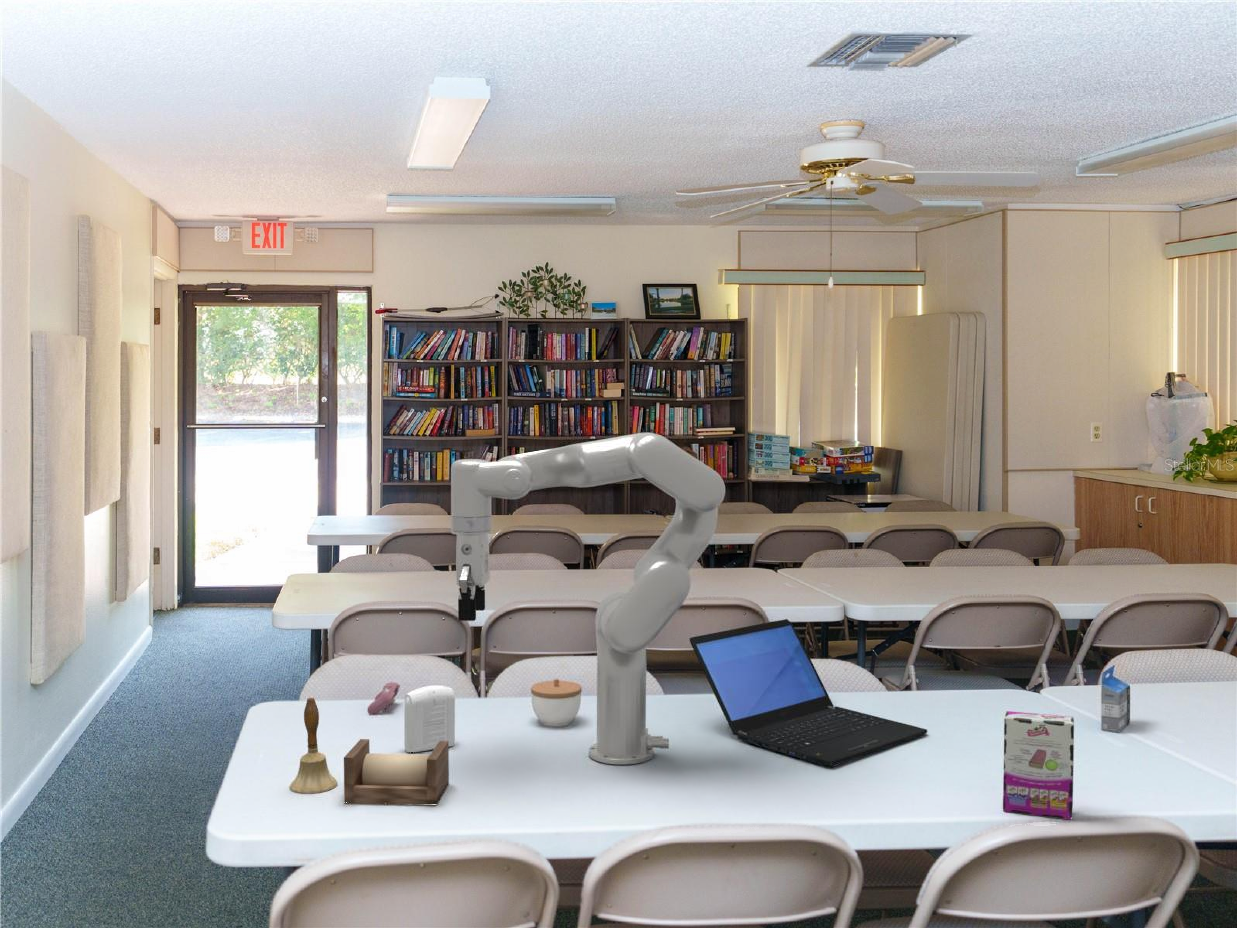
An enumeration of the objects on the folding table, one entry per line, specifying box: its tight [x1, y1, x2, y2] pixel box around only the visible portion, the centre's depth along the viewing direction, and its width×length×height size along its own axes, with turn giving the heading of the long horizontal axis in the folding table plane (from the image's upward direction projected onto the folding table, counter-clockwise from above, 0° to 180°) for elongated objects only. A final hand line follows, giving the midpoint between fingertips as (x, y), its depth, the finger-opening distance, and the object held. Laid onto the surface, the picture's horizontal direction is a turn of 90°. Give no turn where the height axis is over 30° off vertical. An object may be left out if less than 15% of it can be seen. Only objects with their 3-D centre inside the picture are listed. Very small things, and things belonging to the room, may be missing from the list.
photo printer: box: [404, 684, 456, 754], centre depth 232 cm, size 10×4×12 cm, turn 123°
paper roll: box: [362, 752, 430, 787], centre depth 206 cm, size 11×6×6 cm, turn 87°
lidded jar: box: [530, 678, 583, 728], centre depth 250 cm, size 11×11×9 cm
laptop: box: [689, 618, 928, 768], centre depth 244 cm, size 33×38×19 cm
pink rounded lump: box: [367, 681, 401, 715], centre depth 260 cm, size 10×5×7 cm, turn 0°
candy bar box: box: [1002, 710, 1075, 820], centre depth 199 cm, size 11×5×16 cm, turn 69°
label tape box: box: [1100, 665, 1131, 734], centre depth 248 cm, size 9×4×12 cm, turn 143°
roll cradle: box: [343, 738, 450, 805], centre depth 206 cm, size 16×10×8 cm, turn 87°
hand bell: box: [289, 697, 338, 795], centre depth 210 cm, size 8×8×16 cm
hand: (471, 615), depth 222 cm, fingers open, 9 cm apart
